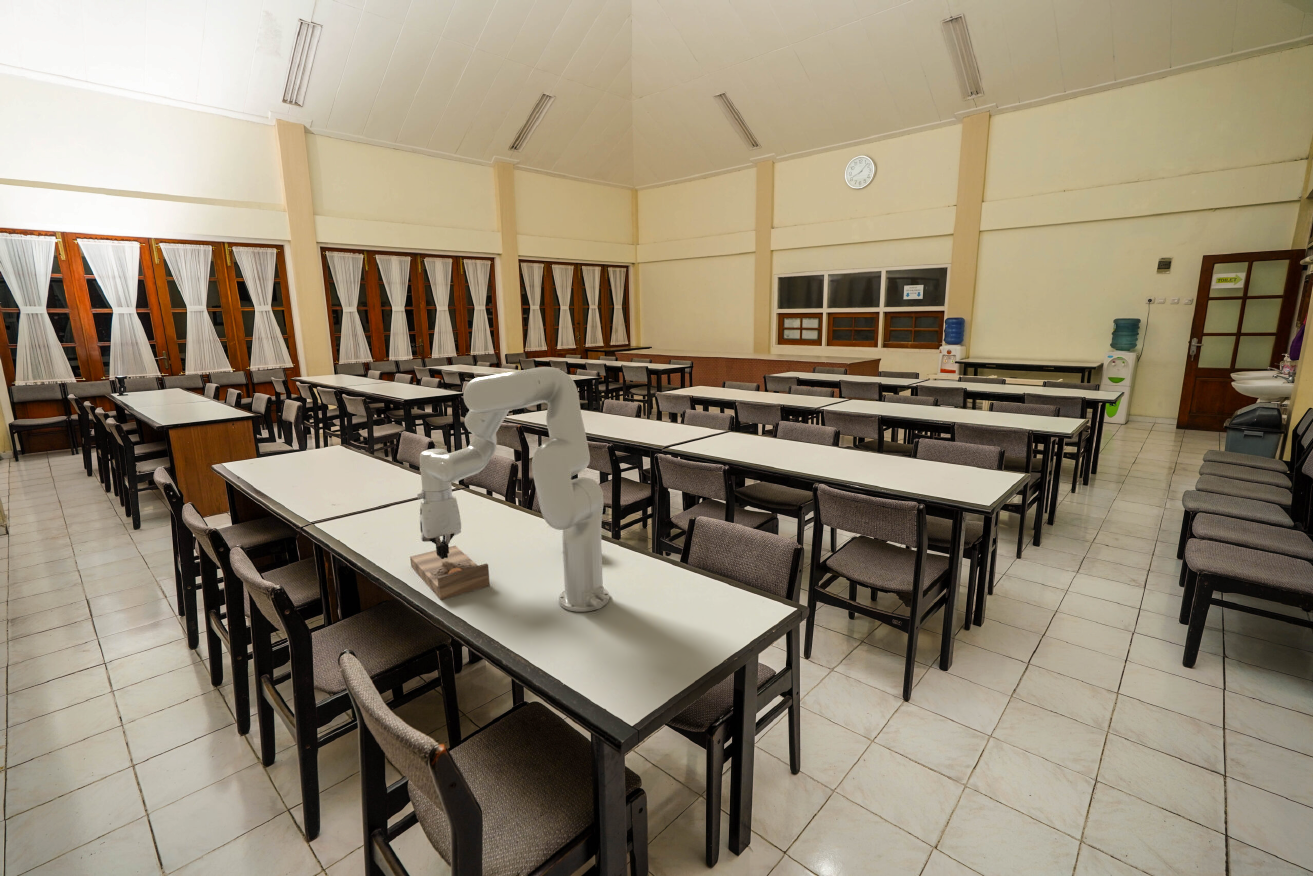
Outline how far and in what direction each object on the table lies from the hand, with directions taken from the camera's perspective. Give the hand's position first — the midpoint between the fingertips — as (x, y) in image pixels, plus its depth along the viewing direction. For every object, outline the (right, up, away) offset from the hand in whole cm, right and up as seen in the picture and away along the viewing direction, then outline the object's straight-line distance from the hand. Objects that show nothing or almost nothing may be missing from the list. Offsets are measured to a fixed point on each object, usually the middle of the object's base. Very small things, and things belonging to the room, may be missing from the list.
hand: (443, 556), depth 167 cm
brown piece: (+2, -5, -2) cm, 6 cm away
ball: (+6, -4, -7) cm, 10 cm away
